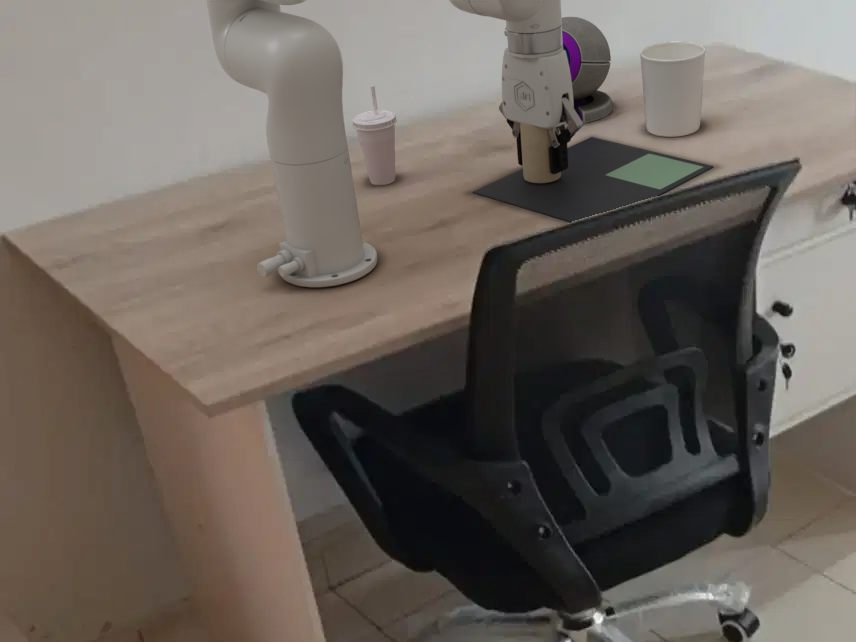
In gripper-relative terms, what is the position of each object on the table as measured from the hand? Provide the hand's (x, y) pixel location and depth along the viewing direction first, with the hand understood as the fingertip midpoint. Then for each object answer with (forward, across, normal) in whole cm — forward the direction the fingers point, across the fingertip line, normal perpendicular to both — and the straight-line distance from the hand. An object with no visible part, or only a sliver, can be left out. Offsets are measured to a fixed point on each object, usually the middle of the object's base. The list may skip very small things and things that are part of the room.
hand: (543, 165), depth 179 cm
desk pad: (+2, +6, +3) cm, 8 cm away
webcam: (+2, -16, +24) cm, 29 cm away
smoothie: (+2, -20, -14) cm, 24 cm away
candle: (+2, 0, 0) cm, 2 cm away
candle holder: (+2, +3, +26) cm, 27 cm away
